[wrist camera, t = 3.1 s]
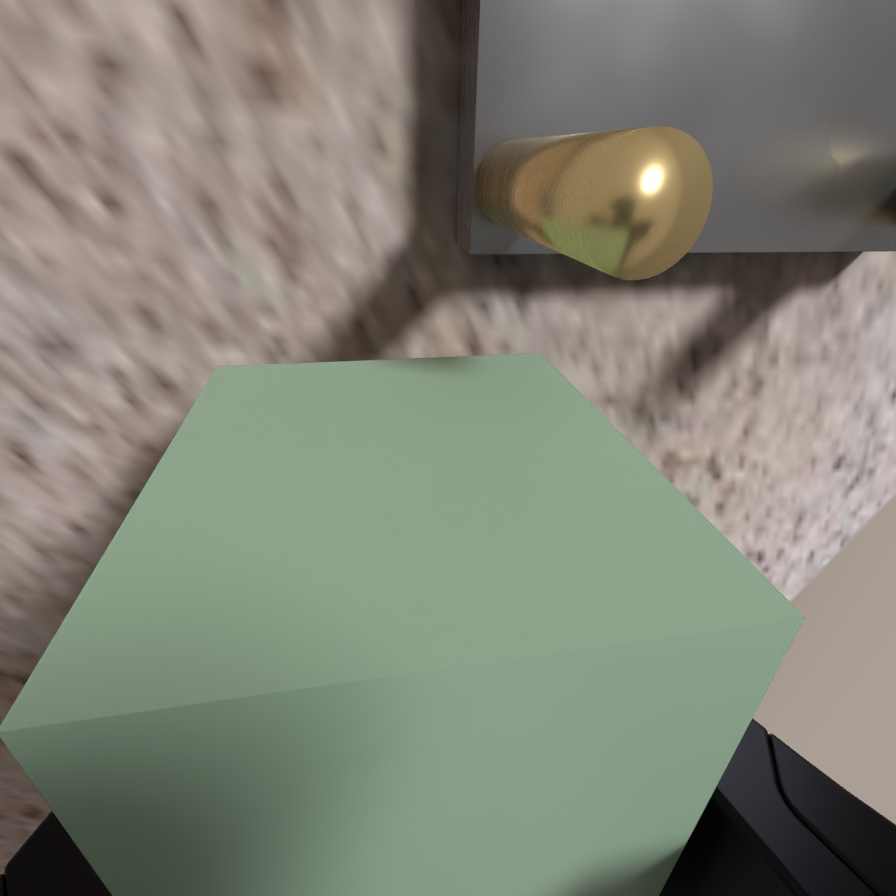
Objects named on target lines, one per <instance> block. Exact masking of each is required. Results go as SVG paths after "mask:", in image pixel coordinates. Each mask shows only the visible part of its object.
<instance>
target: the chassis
mask: <svg viewBox="0 0 896 896" xmlns="http://www.w3.org/2000/svg"><path fill="white" fill-rule="evenodd" d="M456 244H457V245H459V246H460V247H461V248H463V249H464V250H465V251H466V252H468V253H469V254H564V255H566V256H569V257H571V258H573V259H575V260H577V261H580V262H582V263H584V264H586V265H589V266H591V267H593V268H595V269H598V270H600V271H602V272H604V273H606V274H609V275H611V276H613V277H616V278H619V279H624V280H642V279H646V278H650V277H653V276H655V275H658V274H660V273H662V272H664V271H666V270H667V269H669V268H670V267H672V266H673V265H674V264H675V263H677V262H678V261H679V260H680V259H681V258H682V257H683V256H684V255H685V254H686V253H725V252H860V251H896V0H463V4H462V41H461V78H460V115H459V153H458V190H457V227H456Z"/></svg>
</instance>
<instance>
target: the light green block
mask: <svg viewBox="0 0 896 896" xmlns="http://www.w3.org/2000/svg"><path fill="white" fill-rule="evenodd" d="M804 619H805V616H804V615H803V614H801V613H800V611H799V610H798V609H797V608H795V606H794V605H793V604H791V602H790V601H789V600H788V599H787V598H786V597H785V596H784V595H783V594H782V593H781V592H779V591H778V590H777V589H776V588H775V587H774V586H773V585H772V584H771V583H770V582H769V581H768V580H767V579H766V578H765V577H764V576H763V575H762V574H761V573H760V572H759V571H758V570H757V569H756V568H755V567H754V566H753V565H752V564H751V563H750V562H749V561H748V560H747V559H746V558H745V557H744V556H743V555H742V554H741V553H740V552H739V551H738V550H737V549H736V548H735V547H734V546H733V545H732V544H731V543H730V542H729V541H728V540H727V539H726V538H725V537H724V536H723V535H722V534H721V533H720V532H719V531H718V530H717V529H716V528H715V527H714V526H713V525H712V524H711V523H710V522H709V521H708V520H707V519H706V518H705V517H704V516H703V515H702V514H701V513H700V512H699V511H698V510H697V509H696V508H695V507H694V506H693V505H692V504H691V503H690V502H689V501H688V500H687V499H686V498H685V497H684V496H683V495H682V494H681V493H680V492H679V491H678V490H677V489H676V488H675V487H674V486H673V485H672V484H671V483H670V482H669V481H668V480H667V479H666V478H665V477H664V476H663V475H662V474H661V473H660V472H659V471H658V470H657V469H656V468H655V467H654V466H653V465H652V464H651V463H650V462H649V461H648V460H647V459H646V458H645V457H644V456H643V455H642V454H641V453H640V452H639V451H638V450H637V449H636V448H635V447H634V446H633V445H632V444H631V443H630V442H629V441H628V440H627V439H626V438H625V437H624V436H623V435H622V434H621V433H620V432H619V431H618V430H617V429H616V428H615V427H614V426H613V425H612V424H611V423H610V422H609V421H608V420H607V419H606V418H605V417H604V416H603V415H602V414H601V413H600V412H599V411H598V410H597V409H596V408H595V407H594V406H593V405H592V404H591V403H590V402H589V401H588V400H587V399H586V398H585V397H584V396H583V395H582V394H581V393H580V392H579V391H578V390H577V389H576V388H575V387H574V386H573V385H572V384H571V383H570V382H569V381H568V380H567V379H566V378H565V377H564V376H563V375H562V374H561V373H560V372H559V371H558V370H557V369H556V368H555V367H554V366H553V365H552V364H551V363H550V362H549V361H548V360H547V359H546V358H545V357H544V356H543V355H542V354H541V353H537V354H512V355H488V356H463V357H438V358H413V359H389V360H364V361H339V362H315V363H290V364H265V365H240V366H217V367H216V369H215V370H214V372H213V374H212V375H211V377H210V379H209V380H208V382H207V384H206V385H205V387H204V389H203V390H202V392H201V393H200V395H199V397H198V398H197V400H196V402H195V403H194V405H193V407H192V408H191V410H190V412H189V413H188V415H187V417H186V418H185V420H184V422H183V423H182V425H181V427H180V428H179V430H178V432H177V433H176V435H175V437H174V438H173V440H172V442H171V443H170V445H169V447H168V448H167V450H166V452H165V453H164V455H163V457H162V458H161V460H160V461H159V463H158V465H157V466H156V468H155V470H154V471H153V473H152V475H151V476H150V478H149V480H148V481H147V483H146V485H145V486H144V488H143V490H142V491H141V493H140V495H139V496H138V498H137V500H136V501H135V503H134V505H133V506H132V508H131V510H130V511H129V513H128V515H127V516H126V518H125V520H124V521H123V523H122V524H121V526H120V528H119V529H118V531H117V533H116V534H115V536H114V538H113V539H112V541H111V543H110V544H109V546H108V548H107V549H106V551H105V553H104V554H103V556H102V558H101V559H100V561H99V563H98V564H97V566H96V568H95V569H94V571H93V573H92V574H91V576H90V578H89V579H88V581H87V583H86V584H85V586H84V588H83V589H82V591H81V592H80V594H79V596H78V597H77V599H76V601H75V602H74V604H73V606H72V607H71V609H70V611H69V612H68V614H67V616H66V617H65V619H64V621H63V622H62V624H61V626H60V627H59V629H58V631H57V632H56V634H55V636H54V637H53V639H52V641H51V642H50V644H49V646H48V647H47V649H46V651H45V652H44V654H43V655H42V657H41V659H40V660H39V662H38V664H37V665H36V667H35V669H34V670H33V672H32V674H31V675H30V677H29V679H28V680H27V682H26V684H25V685H24V687H23V689H22V690H21V692H20V694H19V695H18V697H17V699H16V700H15V702H14V704H13V705H12V707H11V709H10V710H9V712H8V714H7V715H6V717H5V719H4V720H3V722H2V723H1V725H0V738H1V740H2V741H3V743H4V744H5V745H6V747H7V748H8V750H9V751H10V752H11V754H12V755H13V757H14V758H15V759H16V761H17V762H18V764H19V765H20V766H21V768H22V769H23V771H24V772H25V773H26V775H27V776H28V778H29V779H30V781H31V782H32V783H33V785H34V786H35V788H36V789H37V790H38V792H39V793H40V795H41V796H42V797H43V799H44V800H45V802H46V803H47V804H48V806H49V807H50V809H51V810H52V811H53V813H54V814H55V816H56V817H57V818H58V820H59V821H60V823H61V824H62V826H63V827H64V828H65V830H66V831H67V833H68V834H69V835H70V837H71V838H72V840H73V841H74V842H75V844H76V845H77V847H78V848H79V849H80V851H81V852H82V854H83V855H84V856H85V858H86V859H87V861H88V862H89V863H90V865H91V866H92V868H93V869H94V870H95V872H96V873H97V875H98V876H99V878H100V879H101V880H102V882H103V883H104V885H105V886H106V887H107V889H108V890H109V892H110V893H111V894H112V896H659V894H660V893H661V891H662V889H663V887H664V885H665V883H666V881H667V879H668V877H669V875H670V874H671V872H672V870H673V868H674V866H675V864H676V862H677V860H678V858H679V856H680V855H681V853H682V851H683V849H684V847H685V845H686V843H687V841H688V839H689V837H690V836H691V834H692V832H693V830H694V828H695V826H696V824H697V822H698V820H699V818H700V817H701V815H702V813H703V811H704V809H705V807H706V805H707V803H708V801H709V799H710V798H711V796H712V794H713V792H714V790H715V788H716V786H717V784H718V782H719V780H720V779H721V777H722V775H723V773H724V771H725V769H726V767H727V765H728V763H729V762H730V760H731V758H732V756H733V754H734V752H735V750H736V748H737V746H738V744H739V743H740V741H741V739H742V737H743V735H744V733H745V731H746V729H747V727H748V725H749V724H750V722H751V720H752V718H753V716H754V714H755V712H756V710H757V708H758V706H759V704H760V703H761V701H762V699H763V697H764V695H765V693H766V691H767V689H768V687H769V686H770V683H771V682H772V680H773V678H774V676H775V674H776V672H777V670H778V668H779V666H780V664H781V663H782V661H783V659H784V657H785V655H786V653H787V651H788V649H789V648H790V646H791V643H792V642H793V640H794V638H795V636H796V634H797V632H798V630H799V629H800V627H801V625H802V623H803V621H804Z"/></svg>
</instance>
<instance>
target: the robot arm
mask: <svg viewBox="0 0 896 896" xmlns="http://www.w3.org/2000/svg"><path fill="white" fill-rule="evenodd" d="M4 874H5V875H4ZM4 874H0V896H112V894H111V893H110V892H109V890H108V889H107V887H106V886H105V885H104V883H103V882H102V880H101V879H100V878H99V876H98V875H97V873H96V872H95V870H94V869H93V868H92V866H91V865H90V863H89V862H88V861H87V859H86V858H85V856H84V855H83V854H82V852H81V851H80V849H79V848H78V847H77V845H76V844H75V842H74V841H73V840H72V838H71V837H70V835H69V834H68V833H67V831H66V830H65V828H64V827H63V826H62V824H61V823H60V821H59V820H58V818H57V817H56V816H55V814H54V813H53V811H51V812H50V813H49V815H48V816H47V817H46V818H45V819H44V821H43V822H42V823H41V824H40V825H39V827H38V828H37V829H36V830H35V831H34V833H33V834H32V835H31V836H30V837H29V839H28V840H27V841H26V842H25V843H24V845H23V846H22V847H21V848H20V849H19V851H18V852H17V853H16V854H15V855H14V856H13V858H12V859H11V860H10V861H9V862H8V864H7V865H6V866H5V869H4ZM659 896H896V825H895V824H894V823H892V822H891V821H889V820H888V819H887V818H885V817H884V816H882V815H880V813H878V812H877V811H875V810H874V809H872V808H871V807H870V806H868V805H867V804H865V803H864V802H863V801H861V800H859V799H858V798H857V797H855V796H854V795H852V794H851V793H850V792H848V791H847V790H845V789H844V788H843V787H841V786H840V785H839V784H838V783H836V782H835V781H833V780H832V779H831V778H830V777H828V776H827V775H826V774H824V773H823V772H822V771H820V770H819V769H818V768H816V767H815V766H814V765H812V764H811V763H809V762H808V761H807V760H806V759H804V758H803V757H802V756H800V755H799V754H798V753H797V752H795V751H794V750H793V749H791V748H790V747H789V746H787V745H786V744H785V743H783V742H782V741H781V740H780V739H779V738H777V737H776V736H775V735H773V734H768V732H767V730H766V729H765V728H764V727H763V726H762V725H760V724H759V723H758V722H756V721H755V720H754V719H753V718H752V720H751V722H750V724H749V725H748V727H747V729H746V731H745V733H744V735H743V737H742V739H741V741H740V743H739V744H738V746H737V748H736V750H735V752H734V754H733V756H732V758H731V760H730V762H729V763H728V765H727V767H726V769H725V771H724V773H723V775H722V777H721V779H720V780H719V782H718V784H717V786H716V788H715V790H714V792H713V794H712V796H711V798H710V799H709V801H708V803H707V805H706V807H705V809H704V811H703V813H702V815H701V817H700V818H699V820H698V822H697V824H696V826H695V828H694V830H693V832H692V834H691V836H690V837H689V839H688V841H687V843H686V845H685V847H684V849H683V851H682V853H681V855H680V856H679V858H678V860H677V862H676V864H675V866H674V868H673V870H672V872H671V874H670V875H669V877H668V879H667V881H666V883H665V885H664V887H663V889H662V891H661V893H660V894H659Z"/></svg>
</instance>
